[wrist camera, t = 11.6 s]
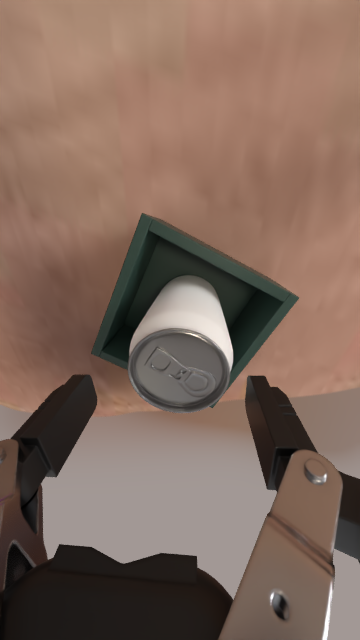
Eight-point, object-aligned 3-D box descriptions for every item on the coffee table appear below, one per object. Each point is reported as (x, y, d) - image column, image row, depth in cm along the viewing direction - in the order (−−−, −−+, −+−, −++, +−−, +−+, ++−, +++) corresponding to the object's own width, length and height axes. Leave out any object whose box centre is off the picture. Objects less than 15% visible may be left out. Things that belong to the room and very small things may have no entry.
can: (196, 340, 24) (193, 434, 13) (148, 311, 23) (101, 384, 12) (231, 296, 21) (265, 364, 10) (179, 261, 20) (156, 295, 9)
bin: (117, 323, 25) (90, 353, 18) (159, 218, 20) (141, 212, 14) (209, 366, 26) (212, 408, 20) (270, 278, 21) (299, 297, 15)
